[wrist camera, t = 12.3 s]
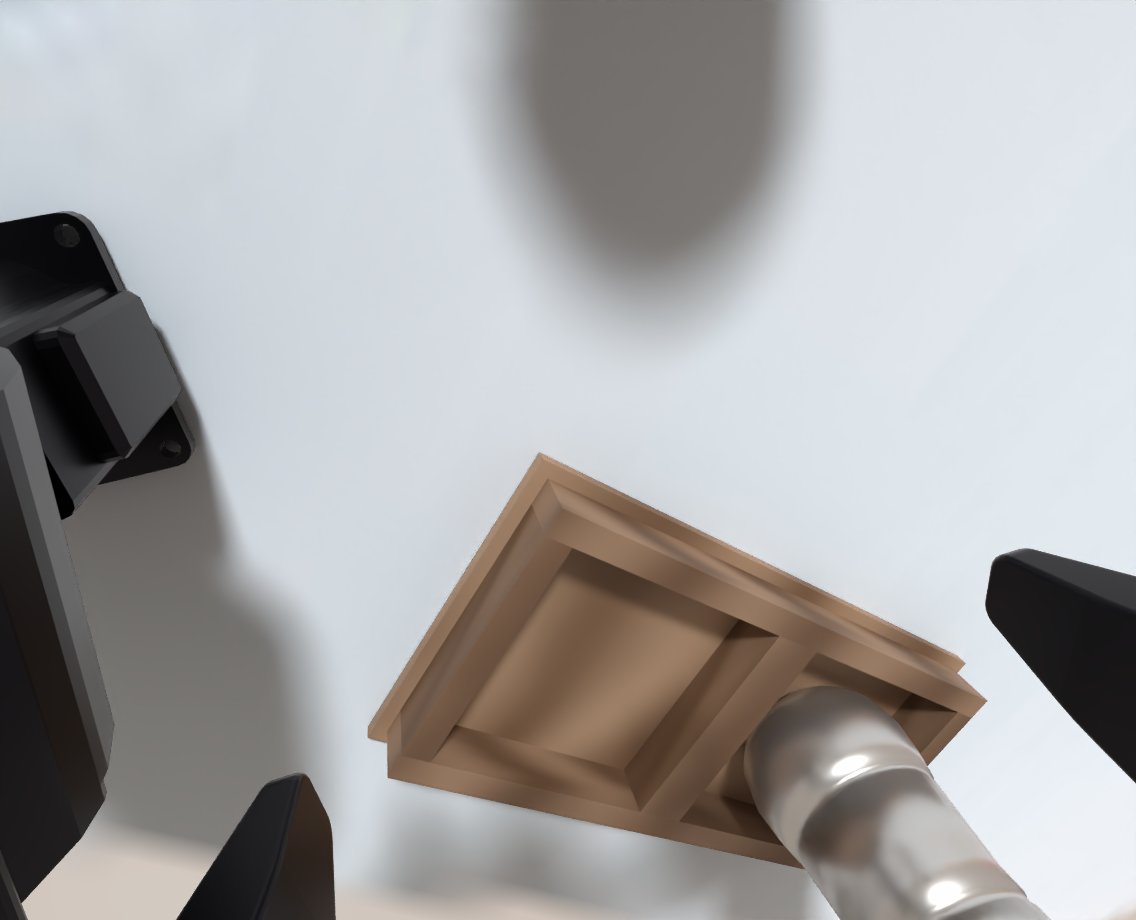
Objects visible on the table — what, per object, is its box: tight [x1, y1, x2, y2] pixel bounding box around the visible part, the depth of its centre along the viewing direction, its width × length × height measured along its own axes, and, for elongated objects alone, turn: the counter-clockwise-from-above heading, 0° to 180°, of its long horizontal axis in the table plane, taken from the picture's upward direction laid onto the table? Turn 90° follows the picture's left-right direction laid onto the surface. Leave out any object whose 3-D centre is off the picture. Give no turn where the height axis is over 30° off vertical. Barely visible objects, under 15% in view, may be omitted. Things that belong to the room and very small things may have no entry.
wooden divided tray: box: [368, 453, 987, 869], centre depth 26 cm, size 23×12×2 cm, turn 58°
